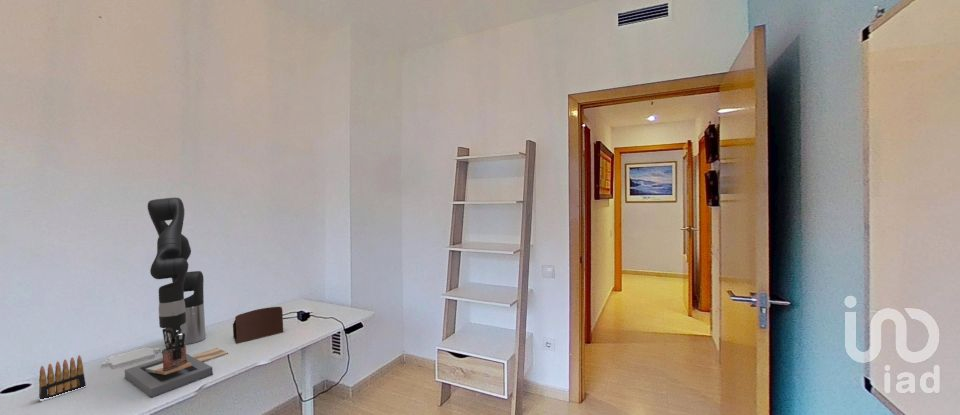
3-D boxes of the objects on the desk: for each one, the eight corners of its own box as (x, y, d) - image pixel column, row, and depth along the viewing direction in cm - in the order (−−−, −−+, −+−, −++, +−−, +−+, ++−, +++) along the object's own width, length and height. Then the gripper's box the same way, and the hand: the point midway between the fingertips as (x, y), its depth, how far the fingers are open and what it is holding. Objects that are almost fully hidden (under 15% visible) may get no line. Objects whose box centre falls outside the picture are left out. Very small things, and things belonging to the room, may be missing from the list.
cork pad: (190, 357, 154) (190, 356, 154) (217, 349, 162) (217, 347, 162) (200, 363, 149) (200, 361, 149) (227, 353, 157) (227, 352, 157)
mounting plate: (155, 348, 166) (155, 344, 165) (163, 355, 158) (162, 351, 158) (99, 364, 151) (99, 359, 151) (104, 372, 143) (103, 367, 143)
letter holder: (283, 332, 181) (282, 304, 180) (236, 344, 168) (235, 314, 167) (278, 327, 188) (277, 300, 188) (233, 338, 175) (231, 309, 175)
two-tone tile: (145, 371, 140) (145, 368, 140) (171, 362, 147) (171, 360, 147) (165, 374, 129) (164, 372, 129) (191, 365, 136) (191, 362, 136)
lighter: (167, 372, 130) (166, 344, 130) (160, 371, 131) (158, 344, 130) (189, 361, 138) (188, 336, 138) (182, 361, 139) (181, 335, 138)
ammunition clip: (83, 385, 132) (81, 353, 132) (85, 387, 132) (83, 354, 131) (39, 401, 123) (36, 366, 123) (40, 402, 122) (38, 367, 122)
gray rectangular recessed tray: (124, 377, 138) (124, 369, 138) (182, 358, 153) (182, 351, 153) (151, 397, 123) (151, 389, 123) (212, 374, 138) (212, 367, 138)
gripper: (152, 312, 134) (154, 357, 135) (167, 318, 127) (169, 366, 127) (177, 306, 141) (179, 350, 141) (192, 312, 133) (195, 358, 134)
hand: (174, 357), depth 134 cm, fingers closed on lighter, 4 cm apart
